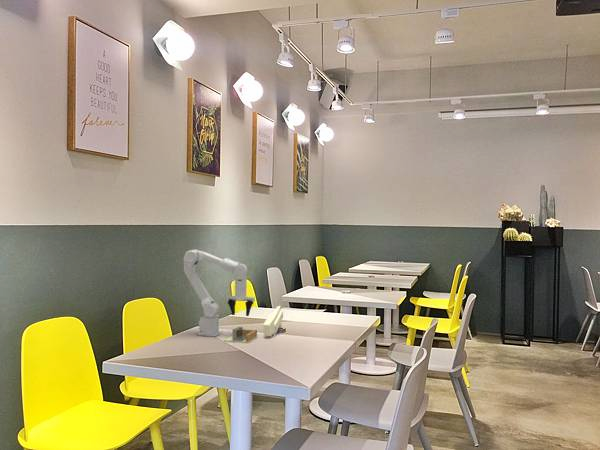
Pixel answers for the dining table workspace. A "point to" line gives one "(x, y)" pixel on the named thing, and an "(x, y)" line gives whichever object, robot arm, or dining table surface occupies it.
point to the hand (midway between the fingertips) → (240, 315)
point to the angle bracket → (238, 334)
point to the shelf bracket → (273, 322)
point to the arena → (249, 336)
